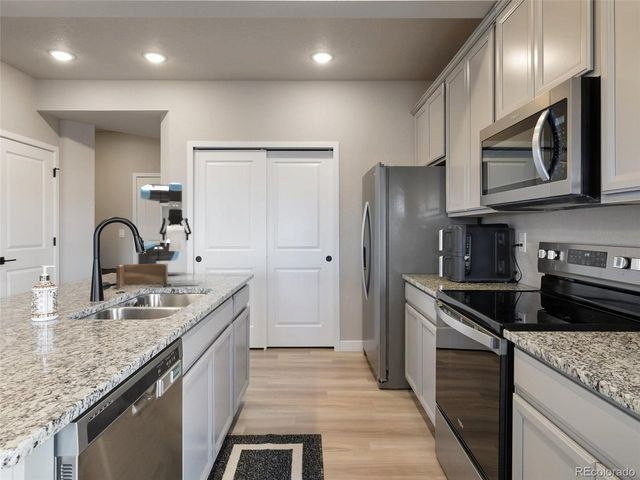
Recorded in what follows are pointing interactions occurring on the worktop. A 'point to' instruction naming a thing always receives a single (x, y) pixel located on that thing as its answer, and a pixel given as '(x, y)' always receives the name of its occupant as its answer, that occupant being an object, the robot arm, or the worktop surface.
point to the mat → (185, 283)
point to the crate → (141, 274)
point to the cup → (175, 237)
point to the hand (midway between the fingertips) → (175, 246)
